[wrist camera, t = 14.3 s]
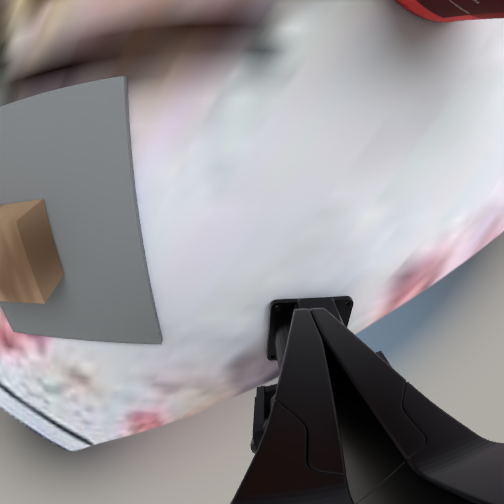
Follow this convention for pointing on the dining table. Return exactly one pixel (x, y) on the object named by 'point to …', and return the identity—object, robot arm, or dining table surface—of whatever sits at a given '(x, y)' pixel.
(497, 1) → the canned food
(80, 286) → the mat
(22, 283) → the block
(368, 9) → the dining table surface
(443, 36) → the dining table surface
